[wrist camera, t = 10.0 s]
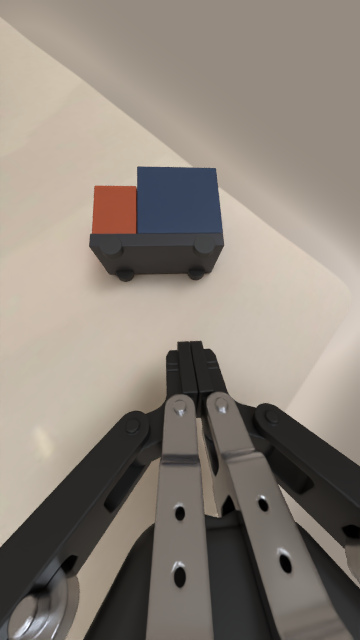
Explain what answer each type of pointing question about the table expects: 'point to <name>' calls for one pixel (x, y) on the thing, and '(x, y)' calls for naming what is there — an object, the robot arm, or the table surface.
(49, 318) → the table surface
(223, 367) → the table surface
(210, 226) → the toy truck
